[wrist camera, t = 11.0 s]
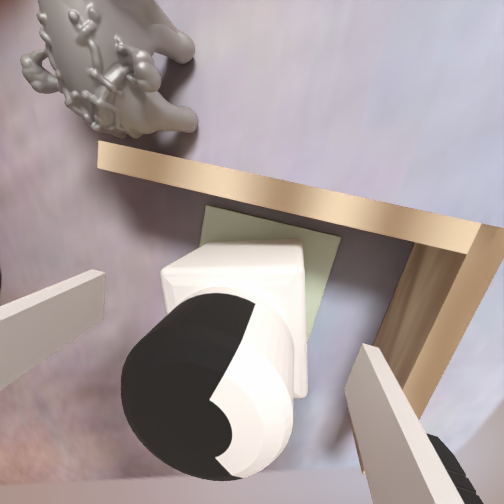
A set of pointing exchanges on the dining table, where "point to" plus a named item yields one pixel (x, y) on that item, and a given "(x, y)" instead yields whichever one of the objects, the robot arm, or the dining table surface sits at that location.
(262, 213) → the dining table surface
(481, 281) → the corner arena
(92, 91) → the elephant statuette
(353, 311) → the dining table surface
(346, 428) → the dining table surface
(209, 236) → the pad
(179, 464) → the medicine bottle
